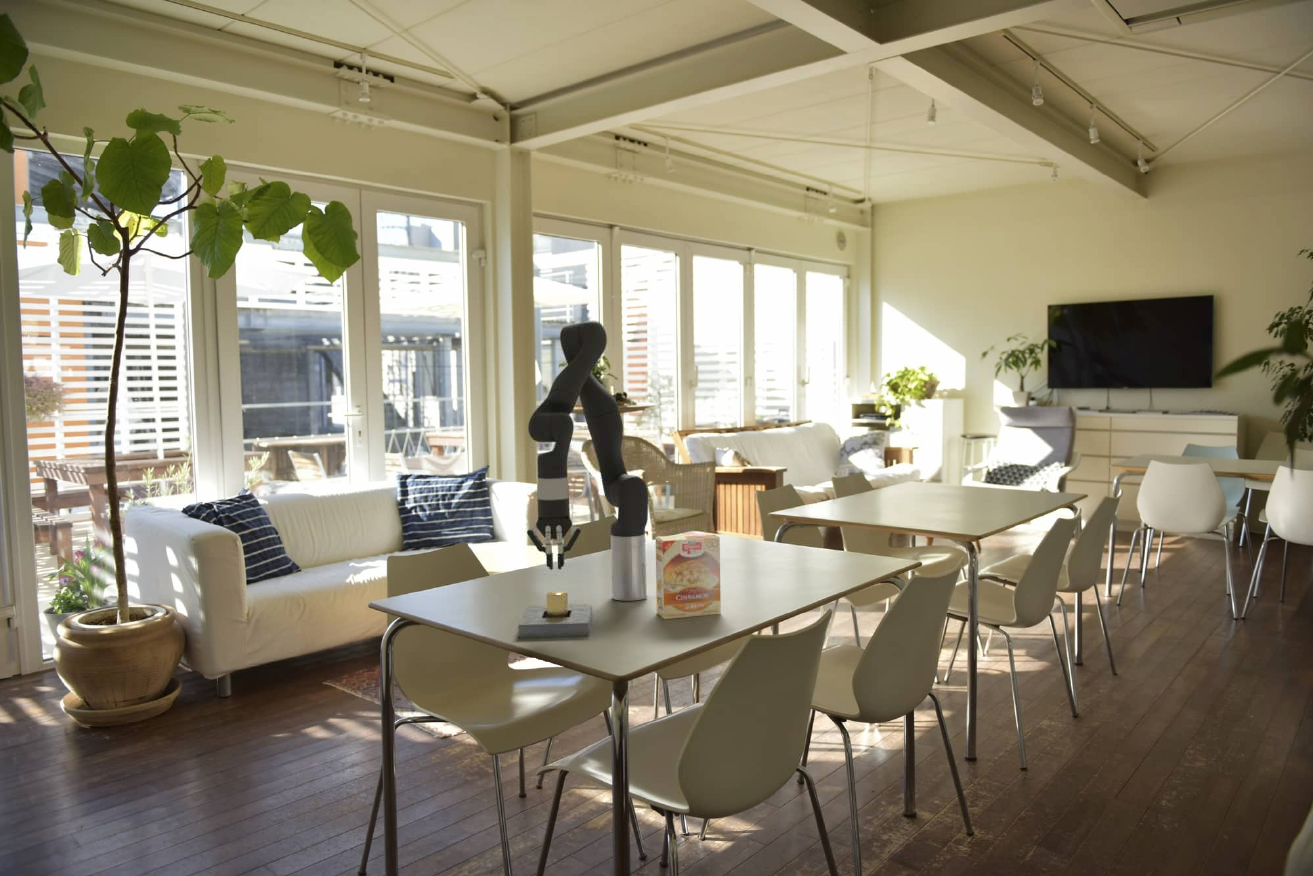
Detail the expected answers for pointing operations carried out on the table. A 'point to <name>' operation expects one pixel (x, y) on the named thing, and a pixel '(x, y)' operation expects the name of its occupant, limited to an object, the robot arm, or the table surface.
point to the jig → (556, 622)
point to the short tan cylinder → (557, 604)
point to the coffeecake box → (688, 575)
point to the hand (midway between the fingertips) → (555, 568)
